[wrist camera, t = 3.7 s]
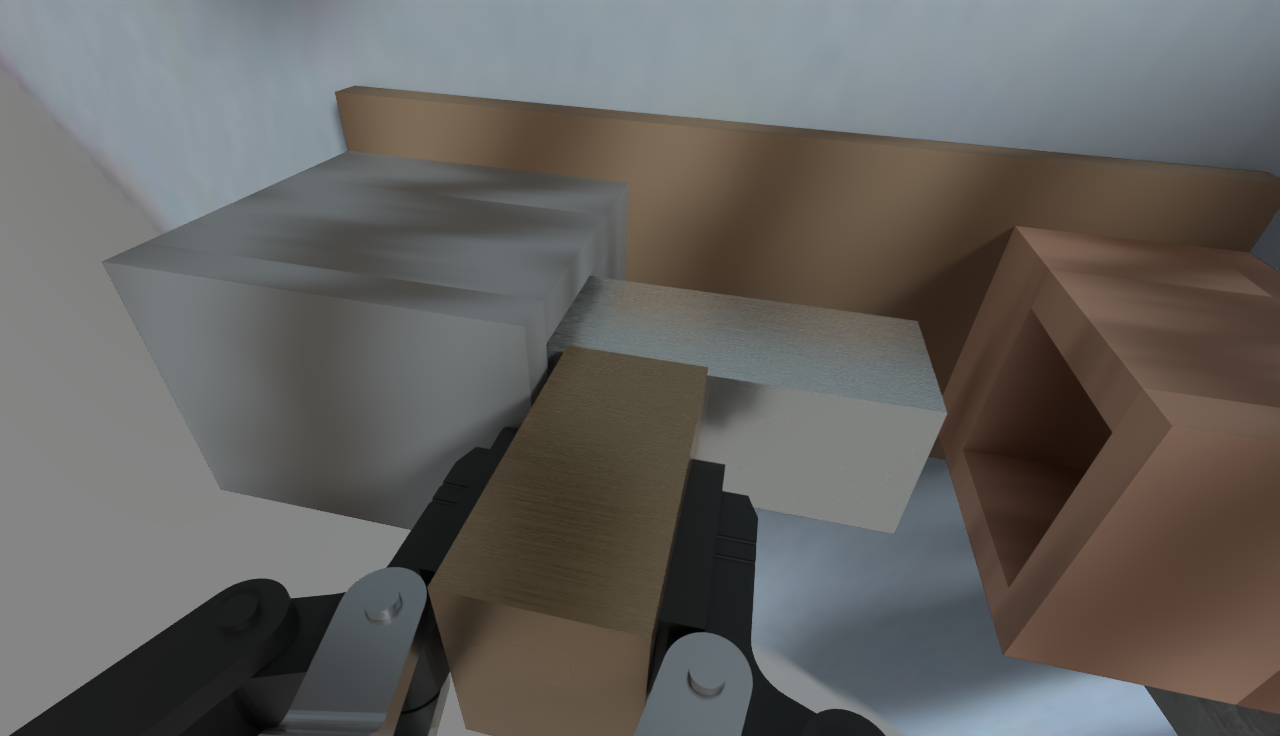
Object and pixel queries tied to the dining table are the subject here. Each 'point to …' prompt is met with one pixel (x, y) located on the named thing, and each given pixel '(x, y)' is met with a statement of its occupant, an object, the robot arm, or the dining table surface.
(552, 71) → the dining table surface
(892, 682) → the dining table surface
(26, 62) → the dining table surface
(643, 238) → the block assembly on base
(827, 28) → the dining table surface
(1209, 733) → the coffeepot
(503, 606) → the two-tone wooden block
